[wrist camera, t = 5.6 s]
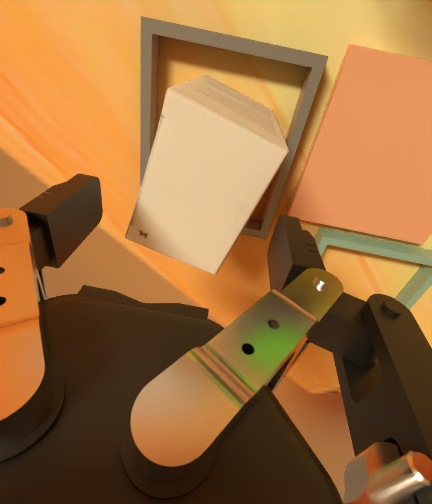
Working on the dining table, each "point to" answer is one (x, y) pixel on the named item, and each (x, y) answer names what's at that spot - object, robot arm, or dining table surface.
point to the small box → (205, 172)
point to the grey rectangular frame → (233, 43)
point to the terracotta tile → (372, 150)
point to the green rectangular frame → (420, 281)
